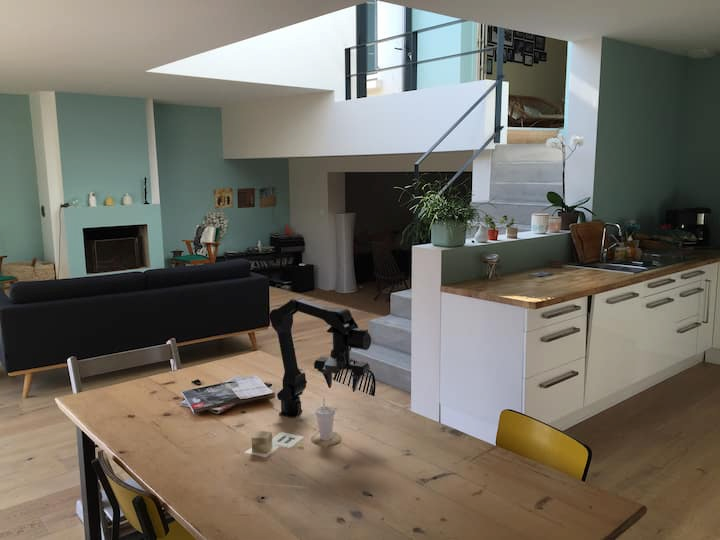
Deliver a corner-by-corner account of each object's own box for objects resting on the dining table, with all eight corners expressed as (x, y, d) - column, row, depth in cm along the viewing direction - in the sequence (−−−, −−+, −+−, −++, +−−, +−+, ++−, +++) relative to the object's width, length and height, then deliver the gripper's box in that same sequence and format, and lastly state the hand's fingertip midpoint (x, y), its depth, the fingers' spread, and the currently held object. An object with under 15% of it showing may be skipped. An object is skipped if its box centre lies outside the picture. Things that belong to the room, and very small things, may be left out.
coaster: (305, 442, 195) (305, 441, 195) (320, 430, 204) (320, 429, 204) (332, 448, 191) (332, 447, 191) (346, 435, 200) (346, 434, 200)
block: (252, 452, 188) (251, 437, 188) (257, 445, 193) (256, 430, 192) (267, 453, 188) (266, 438, 187) (272, 446, 192) (271, 431, 192)
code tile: (266, 443, 195) (266, 442, 195) (281, 432, 203) (281, 431, 203) (290, 448, 191) (290, 447, 191) (304, 437, 199) (304, 436, 199)
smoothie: (312, 439, 196) (311, 399, 194) (322, 432, 202) (321, 392, 200) (329, 443, 193) (328, 402, 191) (339, 435, 199) (338, 395, 197)
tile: (244, 453, 188) (244, 452, 188) (258, 442, 196) (258, 442, 196) (265, 457, 185) (265, 457, 185) (279, 447, 192) (279, 446, 192)
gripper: (305, 349, 200) (306, 393, 203) (356, 355, 193) (356, 401, 195) (321, 340, 210) (322, 383, 213) (369, 346, 203) (370, 390, 205)
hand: (341, 389), depth 206 cm, fingers open, 9 cm apart
